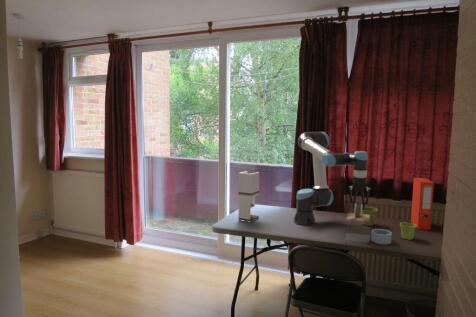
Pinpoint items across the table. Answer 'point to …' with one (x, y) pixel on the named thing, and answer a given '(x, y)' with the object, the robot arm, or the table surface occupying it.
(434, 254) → the table surface
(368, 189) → the robot arm
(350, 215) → the oak board
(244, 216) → the white coffee grinder
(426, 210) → the file binder
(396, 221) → the table surface
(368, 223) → the plant pot
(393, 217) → the table surface
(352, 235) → the charcoal mat
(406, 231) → the plant pot
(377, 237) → the slate-blue bowl
